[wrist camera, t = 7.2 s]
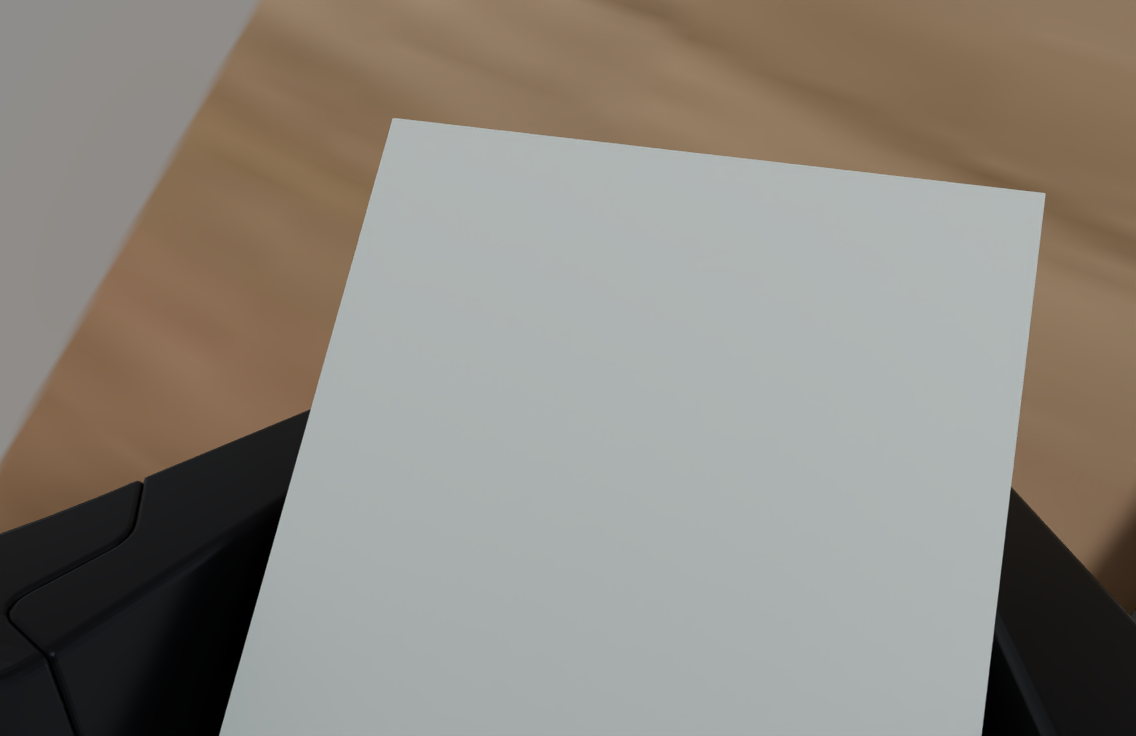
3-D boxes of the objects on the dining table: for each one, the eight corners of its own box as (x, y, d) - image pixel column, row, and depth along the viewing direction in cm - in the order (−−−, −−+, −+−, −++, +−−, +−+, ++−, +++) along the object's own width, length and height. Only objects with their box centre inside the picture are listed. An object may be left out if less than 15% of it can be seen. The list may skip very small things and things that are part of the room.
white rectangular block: (809, 819, 14) (925, 1203, 5) (527, 743, 15) (160, 940, 6) (864, 458, 15) (1045, 193, 6) (598, 410, 16) (392, 117, 7)
